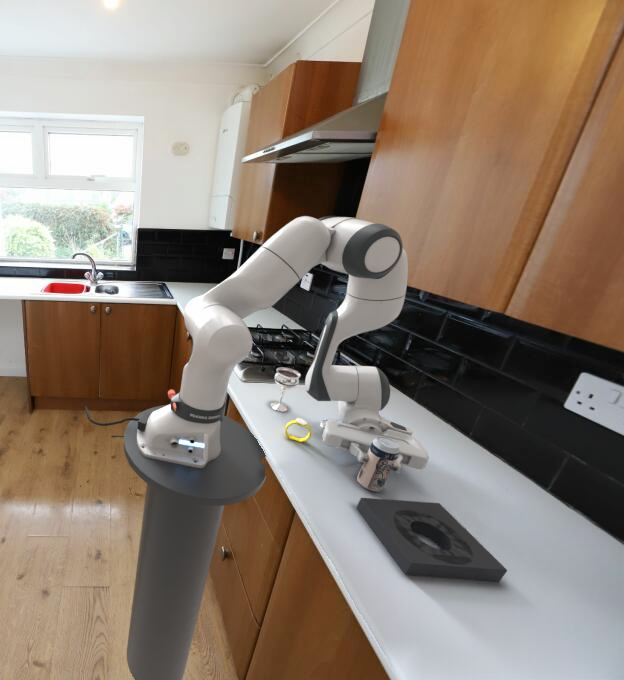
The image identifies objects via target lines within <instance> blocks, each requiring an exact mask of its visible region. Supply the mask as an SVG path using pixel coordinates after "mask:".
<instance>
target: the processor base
mask: <svg viewBox="0 0 624 680" xmlns="http://www.w3.org/2000/svg"><path fill="white" fill-rule="evenodd" d="M356 505H357V506H356V510H357V511H358V513H359V514H360V515H361V517H362V518H363V519H364V522H366V524H367V525H368V526H369V528H370V529H371V530H372V532H373V533H374V535H375V536H376V537H377V538H378V540H379V541H380V543H381V544H382V546H383V547H384V548H385V550H386V551H387V552H388V553H389V555H390V556H391V558H392V559H393V560H394V562H395V563H396V564H397V566H398V567H399V568H400V570H401V571H402V573H403V574H404V575H405V576H414V577H415V576H416V577H417V576H418V577H427V578H428V577H429V578H430V577H431V578H444V579H456V580H470V581H481V582H482V581H483V582H493V583H494V582H495V583H499V582H500V581H501V580H502V579H503V578H504V576H505V575H506V573H507V572H508V569H507V568H506V567H505V566H504V565H503V563H500V561H499V560H498V559H497V558H496V557H495V556H494V555H493V554H492V553H491V552H490V551H488V549H487V548H485V546H483V545H482V543H480V541H478V539H476V538H475V536H474V535H472V533H470V531H468V530H467V529H466V528H465V527H464V526H463V525H462V524H461V523H460V522H459V521H458V520H457V519H456V518H455V517H454V516H453V515H452V514H451V513H450V512H449V511H448V510H447V509H446V508H445V507H444V506H443V505H442V503H441V504H440V503H439V502H430V501H428V502H427V501H417V500H416V501H415V500H401V499H387V498H375V497H373V498H372V497H360V498H359V501H358V503H357V504H356ZM415 533H417V534H420V535H423V536H425V537H427V538H429V539H430V540H431V541H433V542H434V543H436V544H437V545H438V546H439V547H440V548H441V549H440V548H436V547H434V546H432V545H430V544H428V543H426V542H424V541H423V540H422V539H421V538H419V537H418V536H417V535H416V534H415Z"/></svg>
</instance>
